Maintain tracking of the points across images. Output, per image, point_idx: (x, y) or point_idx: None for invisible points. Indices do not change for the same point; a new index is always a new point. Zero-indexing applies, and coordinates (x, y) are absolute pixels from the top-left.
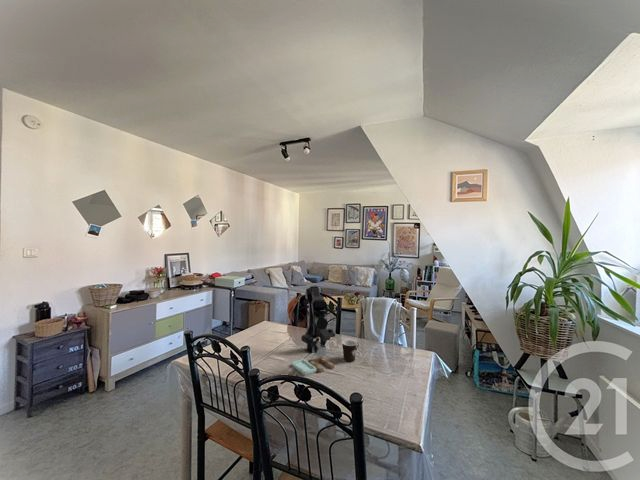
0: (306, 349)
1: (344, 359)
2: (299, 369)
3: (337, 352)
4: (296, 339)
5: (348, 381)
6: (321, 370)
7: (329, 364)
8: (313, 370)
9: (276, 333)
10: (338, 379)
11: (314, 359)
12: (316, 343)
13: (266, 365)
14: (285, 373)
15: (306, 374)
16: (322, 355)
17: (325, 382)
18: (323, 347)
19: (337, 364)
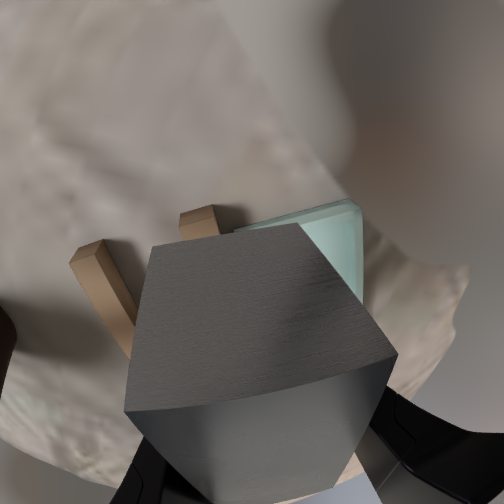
0: None
1: (10, 327)
2: (360, 269)
3: (56, 400)
4: None
5: (46, 22)
6: (200, 215)
7: (107, 278)
8: None
9: None
10: (100, 57)
11: None
12: (294, 487)
13: (429, 345)
14: (417, 264)
15: (333, 205)
16: (226, 244)
17: (230, 39)
18: (220, 391)
19: (51, 293)
